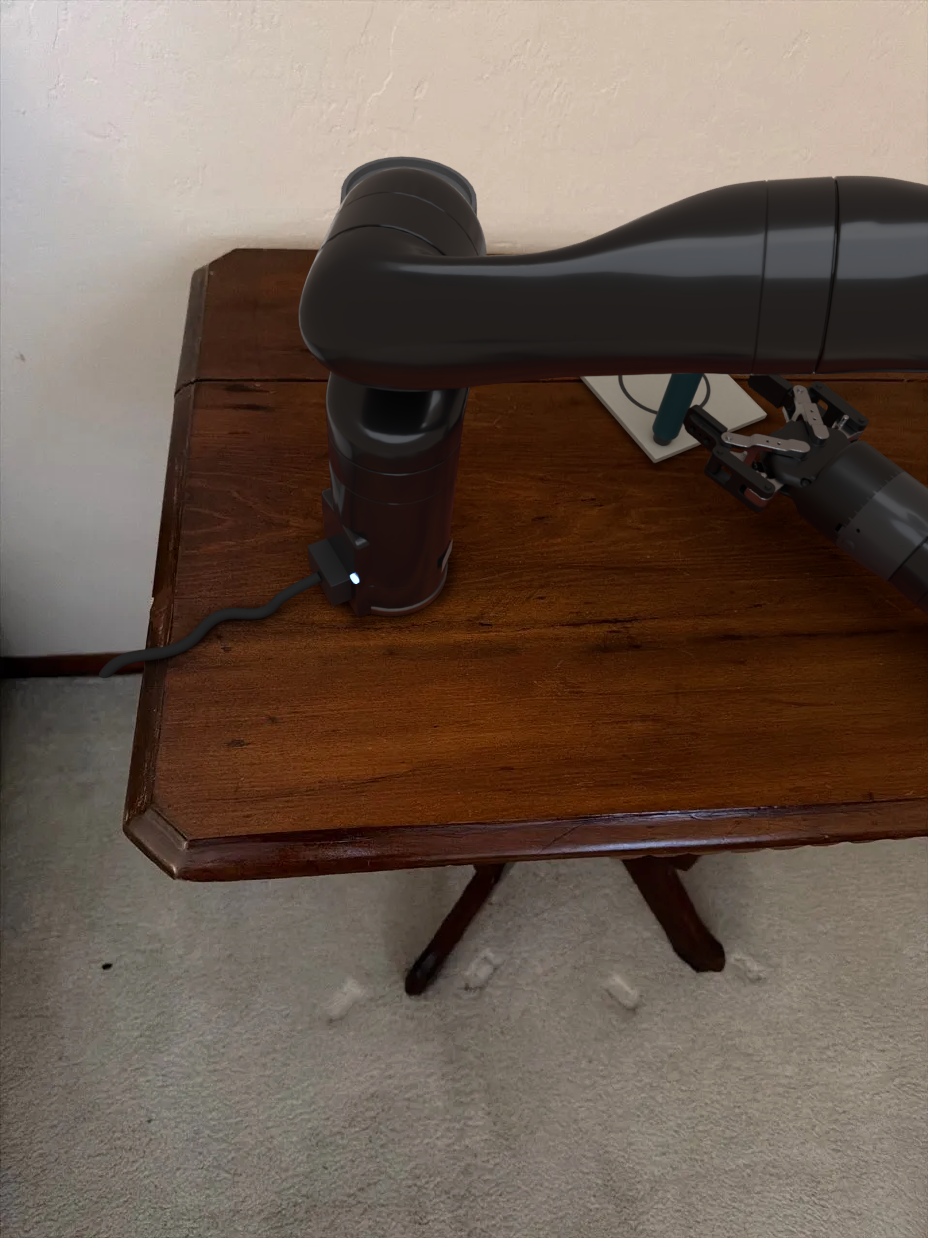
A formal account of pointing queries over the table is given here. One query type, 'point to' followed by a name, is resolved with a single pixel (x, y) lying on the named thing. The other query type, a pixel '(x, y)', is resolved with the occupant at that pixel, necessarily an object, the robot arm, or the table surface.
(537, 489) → the table surface
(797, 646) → the table surface
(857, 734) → the table surface
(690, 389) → the marker
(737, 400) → the sketch pad
